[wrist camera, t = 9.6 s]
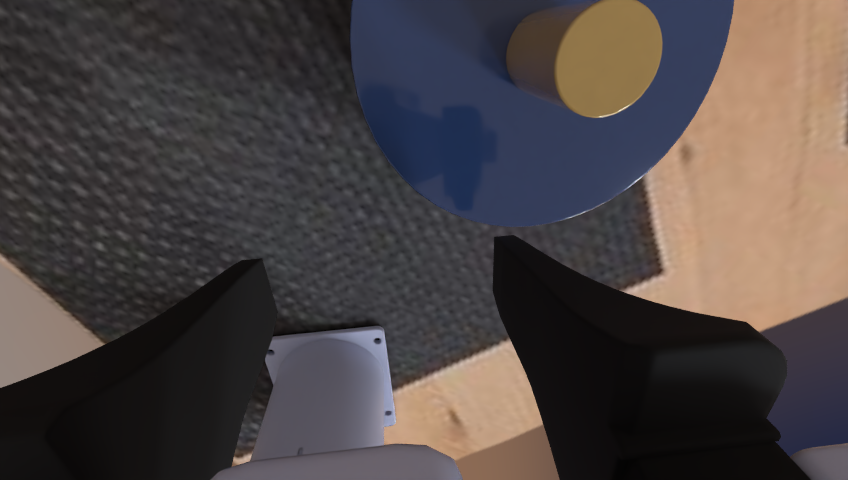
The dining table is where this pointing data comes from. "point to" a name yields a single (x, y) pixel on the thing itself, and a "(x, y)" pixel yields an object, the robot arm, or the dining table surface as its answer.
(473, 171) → the lid
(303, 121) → the dining table surface
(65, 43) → the dining table surface
